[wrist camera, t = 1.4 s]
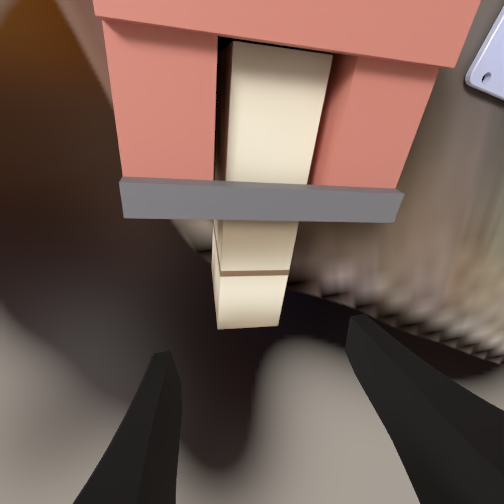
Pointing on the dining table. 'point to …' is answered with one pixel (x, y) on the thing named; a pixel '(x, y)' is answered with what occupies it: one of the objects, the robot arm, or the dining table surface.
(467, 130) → the dining table surface
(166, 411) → the robot arm
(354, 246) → the dining table surface
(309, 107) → the cream block
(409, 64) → the dispenser
